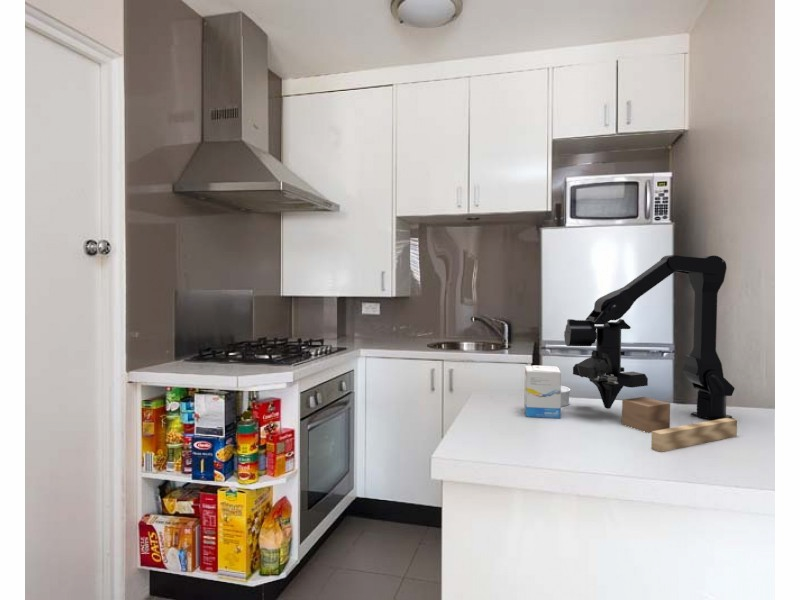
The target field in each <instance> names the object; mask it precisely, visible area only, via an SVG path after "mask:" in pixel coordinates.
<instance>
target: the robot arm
mask: <svg viewBox="0 0 800 600" xmlns="http://www.w3.org/2000/svg"><path fill="white" fill-rule="evenodd" d="M727 268H728V267H727V263H726V260H724V259H723V258H722V257H721V256H718V255H715V254H714V255H705V256H697V257H695V256H684V255H678V254H670V255H664V256H662V257H661V258H660V260H659V261H657V262H656V263H654V264H653V265H651V266H650V267H649V268H648V269H646V270H644V271H643V272H642V273H641V274H639V275H638V276H637V277H635V278H634V279H632V280H631V281H630V282H629V283H627V284H626V285H624V286H623V287H621V288H619V289H617V290H614V291H611V292H608V293H606V294H604V295H603V296H601V297H599V298H598V299H597V300H596V301H595V302H594V306H593V310H592V311H591V312H590V313H589V315H588V316H587V317H586V318H585V319H572V318H568V319H566V320H567V321H566V325H565V330H564V333H563V336H564V337H563V338H564V342H565V345H566V347H591V346H592V345H593V344H596V345H595V346H596V347H595V349H592V351H591V356H590V357H587V358H585V359H584V360H582V361H581V362H579V363H575V364H574V365H573V367H572V375H573V376H574V375H575V376H579V377H580V378H587V379H589V381H590V382H591V383H593V385H595V386H596V388H597V390H598V392H599V395H600V397H601V398H600V399H601V401H602V404H603V406H604V408H605V409H607V410H609V409H611V408H612V406H613V404H614V402H615V401H616V398H617V397H618V395H619V393H620V392H621V390H622V389H623V387H626V388H641V387H647V386H648V385H649V381H648V380H649V379H648V376H647V375H646V374H645V373H642V372H636V371H626V372H625V367H623V366H622V363H621V362H622V361H621V360H622V358H621V357H622V356H626V355H625V351H624V350H622V330H630V329H631V328H632V327H631V326H630V325H629V324H628V323H626V321H625V319H622V317H624V315H625V314H626V313H628V311H629V310H630V309H631V308H632V307H633V305H634V303H635V302H636V301H637V300H638V299H640V297H642V296H643V295H645V294H646V293H648V292H649V291H650V290H652V289H653V288H655V287H656V286H657V285H659V284H660V283H661V282H662V281H664V280H666V279H667V278H668V277H670V275H672V274H674V273H679V274H686V275H688V280H689V282H690V285H691V287H692V289H693V291H694V311H693V312H694V315H693V348H692V351H691V353H690V354H689V355H685V354H684V355H683V364H684V365H683V368H682V371H683V372H684V374H685V377H686V378H687V380H688V381H690V383H691V385H692V387H693V389H695V390H698V391H697V397H696V411H693V412H690V415H691V416H695V417H699V418H703V419H707V420H709V421H712V420H718V419H723V418H731V419H733V415H729V414H727V397H731V396H733V394H734V391H735V390H736V389H735V386H734V385H732V384H731V383H730V382H729V381H728V380H727V379H726V378H725V377H724V371H723V370H724V369H723V364H722V361H721V359H720V357H719V355H718V353H717V328H718V327H717V324H718V323H717V321H718V295H719V294H718V293H719V291H720V289H721V287H722V285H723V284H724V281H725V278H726V272H727Z"/></svg>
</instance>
